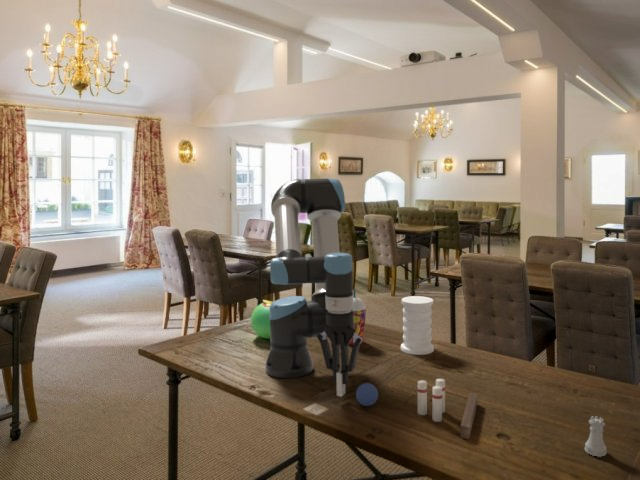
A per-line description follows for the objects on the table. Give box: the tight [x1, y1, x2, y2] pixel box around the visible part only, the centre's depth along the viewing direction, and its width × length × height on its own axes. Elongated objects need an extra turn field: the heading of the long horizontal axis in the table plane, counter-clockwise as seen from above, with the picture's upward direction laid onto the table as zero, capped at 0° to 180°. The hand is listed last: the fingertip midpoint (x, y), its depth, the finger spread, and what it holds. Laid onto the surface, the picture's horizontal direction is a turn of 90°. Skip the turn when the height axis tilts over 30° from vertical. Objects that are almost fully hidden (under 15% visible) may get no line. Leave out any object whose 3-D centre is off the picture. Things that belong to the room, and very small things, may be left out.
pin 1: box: [435, 378, 446, 414], centre depth 141 cm, size 2×2×8 cm
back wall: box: [460, 392, 478, 440], centre depth 136 cm, size 2×20×3 cm, turn 159°
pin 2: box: [431, 385, 443, 423], centre depth 137 cm, size 2×2×8 cm
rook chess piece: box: [584, 415, 608, 458], centre depth 119 cm, size 4×4×8 cm
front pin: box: [416, 379, 428, 416], centre depth 140 cm, size 2×2×8 cm
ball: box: [355, 382, 379, 407], centre depth 146 cm, size 6×6×6 cm
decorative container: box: [400, 295, 435, 356], centre depth 189 cm, size 12×12×18 cm
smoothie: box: [349, 289, 367, 346], centre depth 197 cm, size 8×8×20 cm
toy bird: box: [250, 299, 275, 340], centre depth 206 cm, size 18×17×15 cm
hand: (341, 394), depth 148 cm, fingers closed
